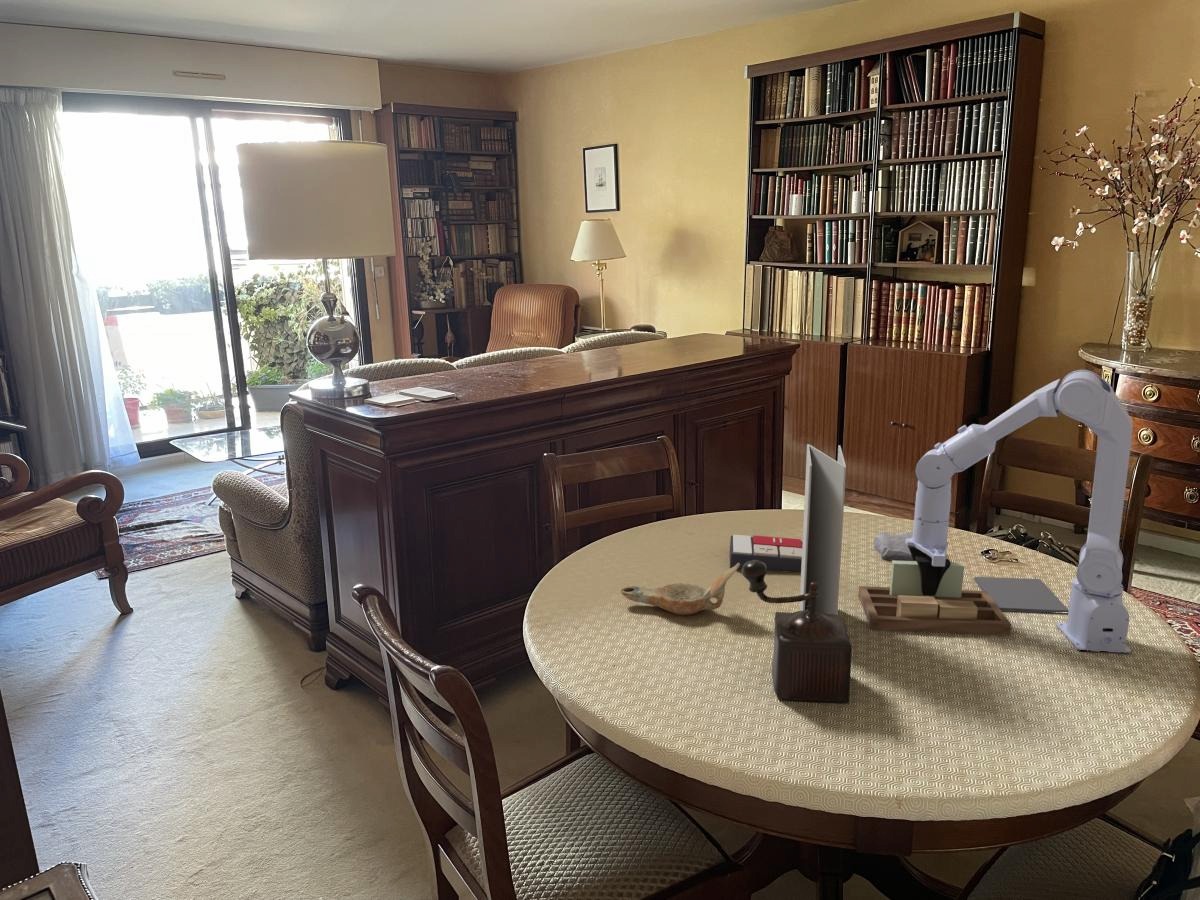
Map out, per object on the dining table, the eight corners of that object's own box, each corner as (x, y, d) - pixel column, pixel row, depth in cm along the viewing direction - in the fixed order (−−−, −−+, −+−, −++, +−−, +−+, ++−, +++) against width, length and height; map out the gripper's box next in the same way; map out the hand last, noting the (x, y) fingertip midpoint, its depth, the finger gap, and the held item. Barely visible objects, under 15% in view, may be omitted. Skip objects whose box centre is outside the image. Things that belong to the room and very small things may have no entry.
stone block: (941, 572, 174) (929, 546, 183) (944, 552, 172) (931, 526, 180) (881, 573, 175) (871, 546, 184) (883, 553, 173) (873, 527, 182)
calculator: (808, 556, 169) (731, 550, 171) (805, 577, 170) (729, 570, 172) (803, 537, 179) (731, 531, 181) (801, 556, 181) (729, 550, 182)
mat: (1068, 613, 150) (1069, 610, 150) (996, 610, 152) (997, 607, 151) (1039, 582, 163) (1040, 579, 163) (974, 579, 165) (974, 576, 165)
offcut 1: (936, 628, 146) (938, 604, 144) (899, 626, 146) (901, 602, 145) (931, 620, 148) (933, 596, 147) (895, 619, 149) (897, 595, 148)
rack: (1009, 635, 142) (1011, 624, 142) (871, 629, 145) (871, 618, 145) (985, 601, 155) (986, 591, 155) (858, 596, 158) (859, 586, 158)
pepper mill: (839, 666, 133) (845, 558, 129) (850, 705, 122) (858, 588, 118) (738, 662, 135) (741, 555, 130) (740, 699, 124) (744, 584, 120)
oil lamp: (735, 626, 147) (736, 572, 145) (615, 613, 153) (614, 561, 150) (740, 605, 155) (742, 554, 153) (626, 594, 161) (626, 544, 159)
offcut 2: (975, 630, 145) (977, 608, 144) (938, 628, 145) (940, 607, 144) (970, 622, 148) (972, 601, 147) (934, 620, 148) (936, 599, 147)
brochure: (835, 642, 141) (846, 467, 133) (801, 640, 142) (809, 465, 134) (831, 606, 154) (840, 445, 147) (799, 604, 155) (807, 444, 148)
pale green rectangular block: (960, 607, 153) (964, 566, 151) (890, 605, 155) (893, 563, 153) (957, 604, 155) (961, 562, 153) (888, 601, 156) (892, 560, 154)
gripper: (899, 504, 158) (894, 572, 161) (917, 530, 144) (911, 605, 148) (939, 505, 157) (933, 574, 161) (961, 532, 143) (953, 606, 147)
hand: (925, 589), depth 154 cm, fingers open, 4 cm apart
